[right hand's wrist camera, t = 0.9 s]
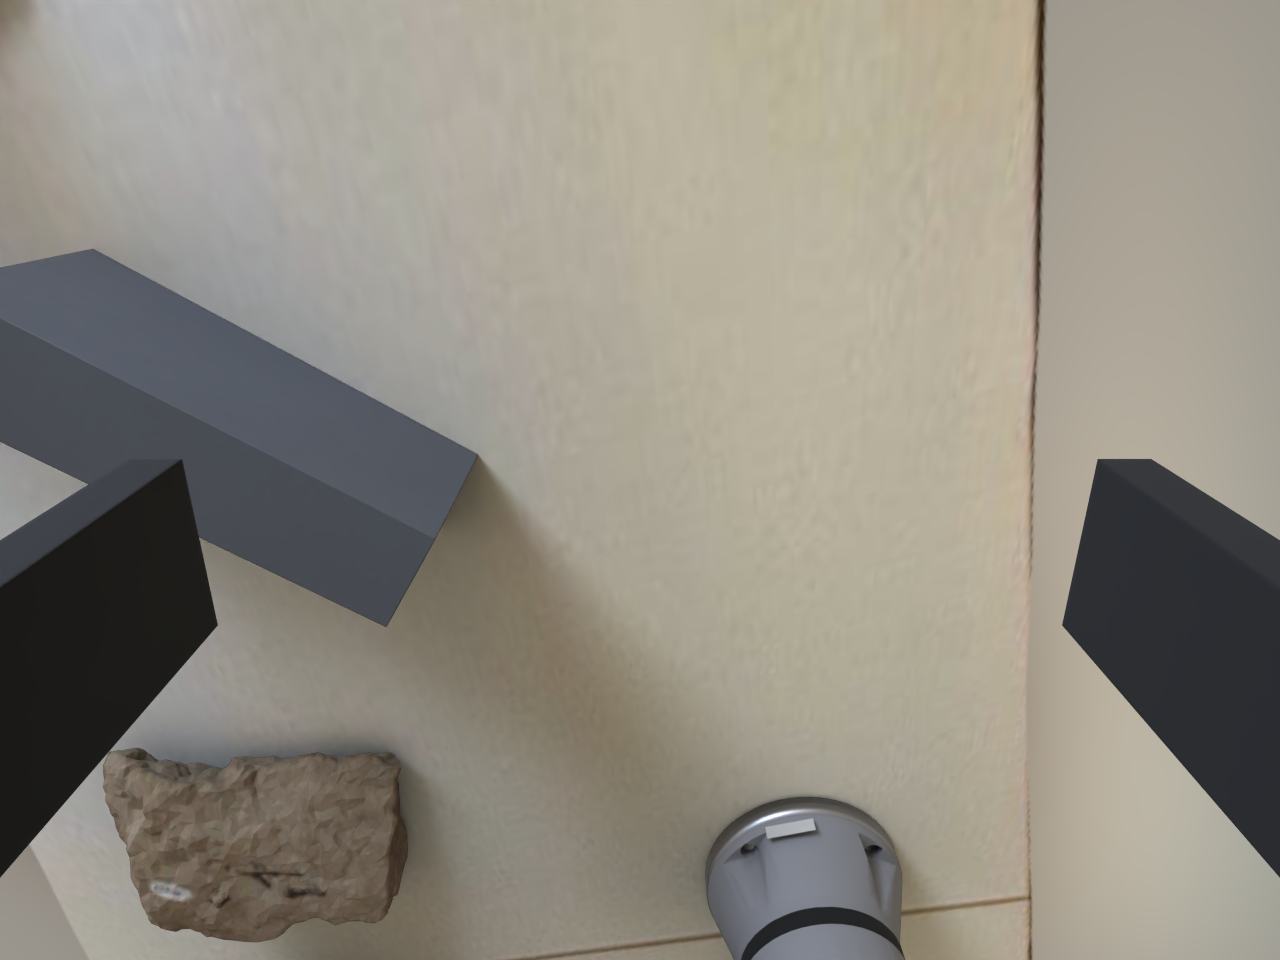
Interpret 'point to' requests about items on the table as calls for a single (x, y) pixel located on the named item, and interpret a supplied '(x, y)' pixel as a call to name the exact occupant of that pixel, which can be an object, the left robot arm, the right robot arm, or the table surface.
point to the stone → (259, 840)
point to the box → (223, 428)
